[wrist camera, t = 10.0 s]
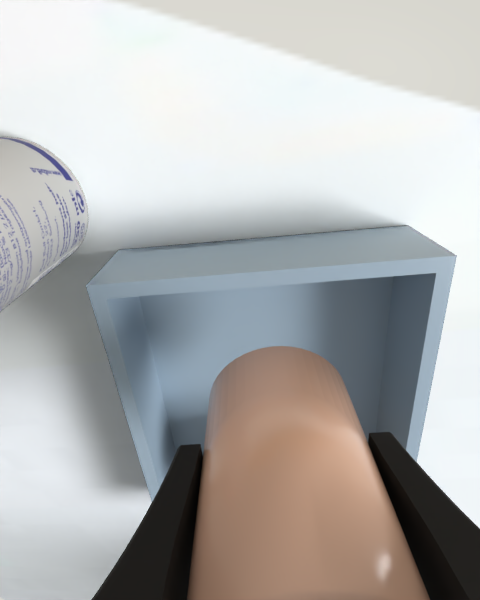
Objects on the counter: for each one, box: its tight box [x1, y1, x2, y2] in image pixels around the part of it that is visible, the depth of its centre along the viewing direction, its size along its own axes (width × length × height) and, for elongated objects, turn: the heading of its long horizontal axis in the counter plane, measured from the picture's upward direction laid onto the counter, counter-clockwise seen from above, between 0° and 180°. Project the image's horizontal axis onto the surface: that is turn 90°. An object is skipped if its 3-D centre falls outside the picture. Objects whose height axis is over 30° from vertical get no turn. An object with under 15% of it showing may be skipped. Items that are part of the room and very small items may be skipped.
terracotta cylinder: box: [187, 346, 430, 600], centre depth 10 cm, size 5×5×7 cm
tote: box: [86, 226, 456, 502], centre depth 18 cm, size 17×13×4 cm
